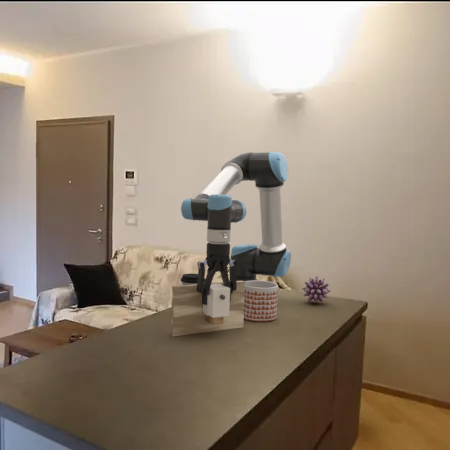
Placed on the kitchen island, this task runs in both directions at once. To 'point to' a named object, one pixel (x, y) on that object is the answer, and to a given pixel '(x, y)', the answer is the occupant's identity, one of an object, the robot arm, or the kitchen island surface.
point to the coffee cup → (189, 279)
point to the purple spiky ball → (316, 289)
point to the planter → (260, 301)
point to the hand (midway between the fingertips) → (216, 313)
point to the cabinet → (219, 300)
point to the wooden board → (193, 311)
